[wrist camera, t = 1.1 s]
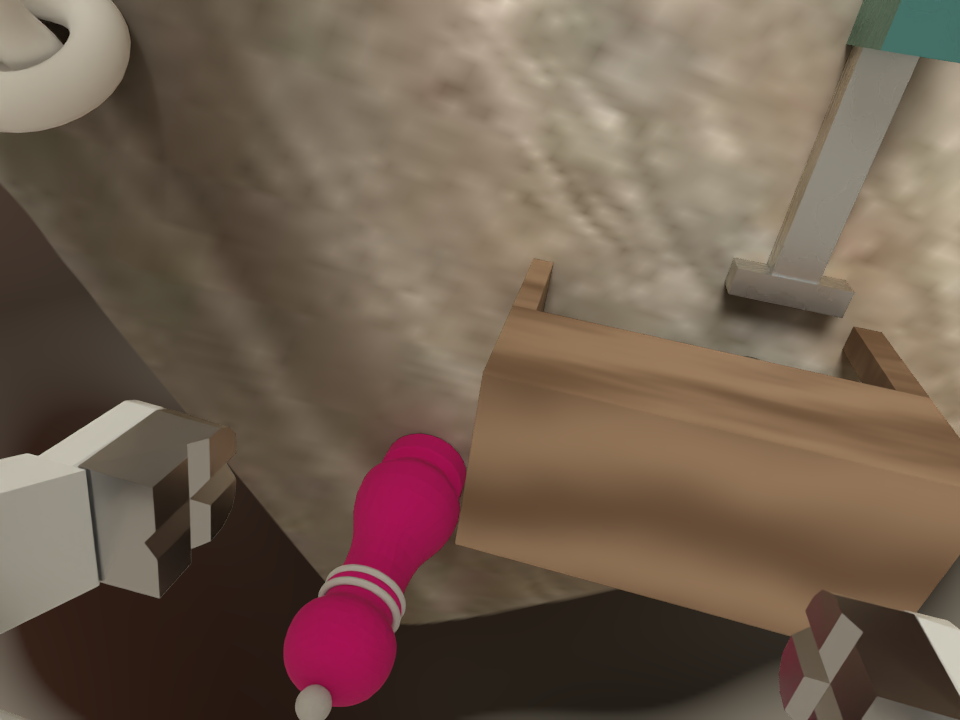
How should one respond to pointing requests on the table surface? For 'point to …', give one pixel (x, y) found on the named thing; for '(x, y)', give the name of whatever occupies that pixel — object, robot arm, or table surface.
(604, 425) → the wooden bench
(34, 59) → the white knot
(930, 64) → the table surface
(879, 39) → the block
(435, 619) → the table surface
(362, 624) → the pepper mill
